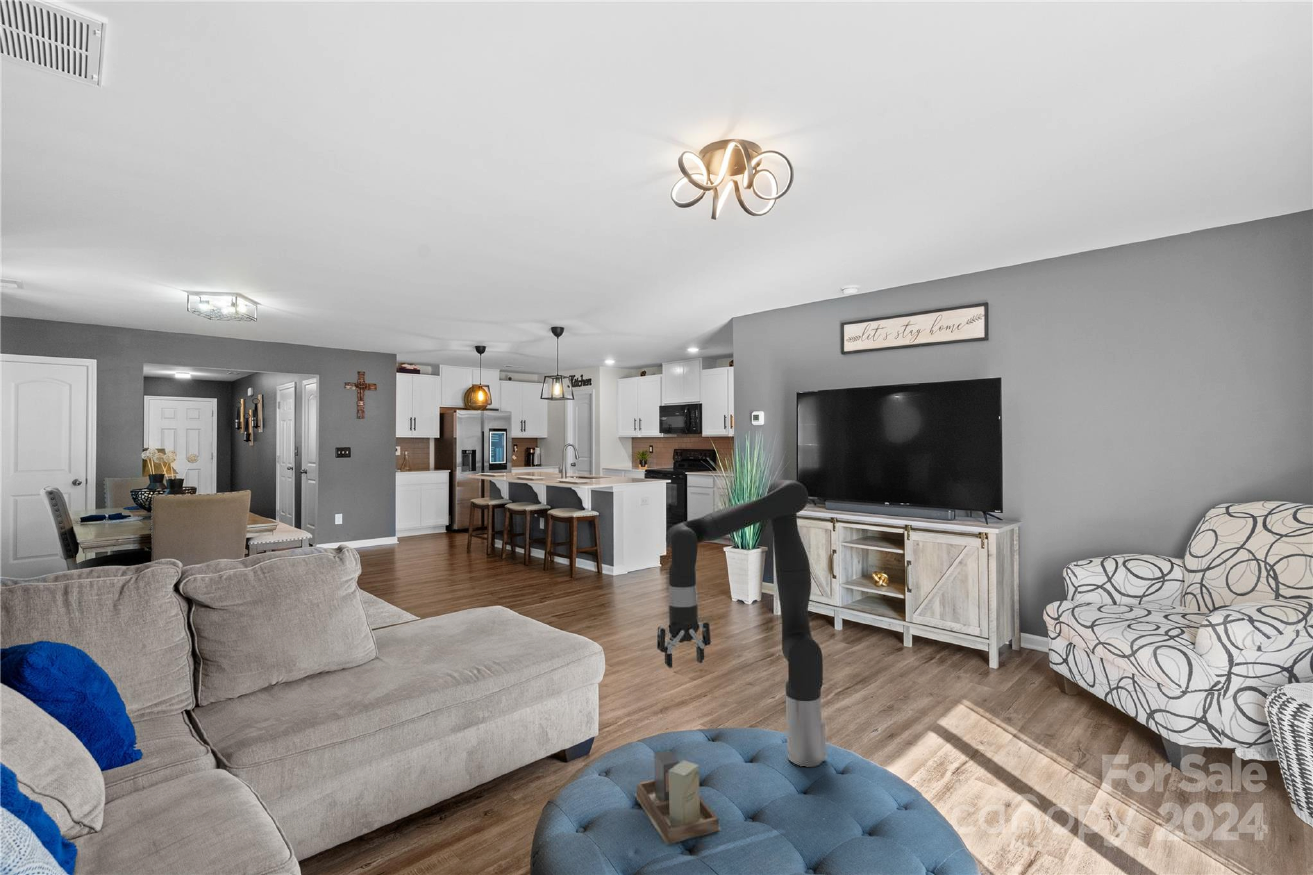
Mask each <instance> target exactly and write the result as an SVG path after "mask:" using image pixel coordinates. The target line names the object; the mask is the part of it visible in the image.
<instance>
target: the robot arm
mask: <svg viewBox="0 0 1313 875" xmlns="http://www.w3.org/2000/svg"><path fill="white" fill-rule="evenodd" d="M808 503H809V493H808V490H807V488H806V487H805V485H803V483H801V482H799V481H796V480H792V479H776V480H774V481H773V482H772V483H770V484H769V487H768V489H767V491H766V494H765V495H763V496H761V497H758V498H755V499H751V500H749V501H746V502H742V503H741V502H740V503H738V504H734V505H729V506H727V507H722V508H720V509H718V510H715V511H713V512H709V513H708V514H706V515H703V516H701V517H698V518H694V519H690V520H687V521H682V522H679V523H677V524H675V525H673V526H672V527H670V528H669V529H668V530H667V532H666V535H665V542H666V543H667V546H668V547H669V548H670V549H671V563H670V564H669V567H668V568H669V569H668V580H669V582H668V585H669V586H668V621H669V624H668V627H667V626H666V627H665V626H663V627H662V626H658V627H657V637H656V638H657V643H656V644H657V645H656V649H657V650H659V651H660V652H661V653H664V664H665V665H666V666H667V668H669V669H672V668H673V653H672V652H673V650H674V648H675V647H676V646H677V645H678V644H679V643H680V644H681V643H684V642H687V643H689V642H692V641H693V642H694V643H695V645H696V648H695V649H696V652H695V653H696V661H697V663H699V664H702V663H703V661H704V660H705V647H708V646H710V645H711V644H712V642H711V630H710V629H711V628H710V623H709V622H707V621H706V620H701V622H699V621H698V620H699V619H698V618H699V615H698V614H699V612H698V610H699V609H698V607H699V606H698V600H699V598H698V591H697V575H696V574H697V573H696V571H697V570H696V563H697V557H698V547H699V545H698V544H700V543H701V544H702V543H703V542H712V541H717V540H719V539H721V538H724V537H726V536H729V535H732V534H734V533H736V532H738V531H741V530H743V529H746V528H750V527H751V526H754V525H756V524H759V523H762V522H766V521H769V520H770V523H771V528H772V540H773V552H774V553H773V554H774V565H775V566H774V567H775V577H776V587H777V592H778V600H779V605H780V613H781V651H782V654H783V657H784V658H785V660H786V661H787V668H788V672H787V674H788V675H787V676H788V680H787V682H786V683H785V712H786V716H785V717H786V739H787V740H786V743H787V746H786V749H787V752H786V753H787V759H788V758H789V760H790V761H791V762H793V763H795V764H797V765H796V766H798V765H802V766H806V767H805V768H813V767H817V766H818V767H819V766H820V765H821V764H822V763H823V762H824V761H826V760H827V758H826V757H827V755H826V753H827V752H826V751H827V750H826V726H825V724H824V723H823V721H822V696H821V693H822V692H821V690H822V688H823V683H824V682H823V680H824V679H823V677H824V676H823V675H824V670H823V669H824V666H823V665H824V660H823V653H822V649H821V647H820V646H821V645H820V644H818V642H817V641H816V640H815V639H814V638H813V637H812V634H811V628H810V622H809V605H810V604H809V603H810V598H811V591H812V576H811V569H810V568H811V565H810V561H809V560H810V559H809V556H808V552H807V550H806V548H805V545H804V542H803V541H802V537H801V534H800V531H799V527H798V518H797V517H798V516H797V514H798V513H801V512H802V511H803V510H804V509H805V508H806V507H807V505H808ZM699 630H700V631H701V635H702V636H701V637H702V640H701V639H700V637H699V636H698V634H697V633H698V631H699ZM668 633H669V634H670V636H669V637H668V639H667V641H666V637H667V635H668ZM789 760H788V761H789ZM790 761H789V762H790ZM791 762H790V763H791ZM793 763H792V764H793ZM795 764H794V765H795ZM802 766H801V767H802Z"/></svg>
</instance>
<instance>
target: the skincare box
mask: <svg viewBox="0 0 1313 875" xmlns="http://www.w3.org/2000/svg"><path fill="white" fill-rule="evenodd" d="M699 770H700V767H699V764H697V763H695V762H692V761H688V760H687V759H686V760H685V759H682V760H681V761H679V763H678V764H677V765H675V766H674V767H673V768H671V769H670V770H669V771H668V772H669V810H670V826H672V827H679V826H683V825H687V824H690V823H694V822H698V821H699V820H700V797H701V795H700V774H699V773H700V772H699Z"/></svg>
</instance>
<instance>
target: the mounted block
mask: <svg viewBox="0 0 1313 875" xmlns="http://www.w3.org/2000/svg"><path fill="white" fill-rule="evenodd" d="M653 755H654V756H653V757H654V760H653V761H654V779H655V796H656V797H657V799H658V800H659V801H660V802H664V801H668V800H669V772H668V771H669V770H670V769H671V768H673V767H674V766H675V765H677V764H678V763H680V761H679V760H678V758H677V757H676V755H674V754H673V752H672V751H671V750H664V751H659V752H655V753H653Z"/></svg>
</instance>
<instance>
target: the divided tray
mask: <svg viewBox="0 0 1313 875" xmlns="http://www.w3.org/2000/svg"><path fill="white" fill-rule="evenodd" d="M634 796H635V798H636V799H637V802H638V803H639V804H640V806H641V807H642V809H643V810H644V812H645V813H646V815H647V817H648V819H649V820H650V821H651V823H652V824H653V826H654V827H655V829H656V830H657V832H658V833H659V835H660V836H661V838H662V840H663V841H664V843H665V844H666V845H669V844H674V843H678V842H681V841H684V840H685V841H686V840H688V839H691V838H696V837H699V836H705V835H708V834H711V833H714V832H718V831H721V830H722V829H723V828H721V827H720V826H719V818H718V816H717V815H716V813H714V812H713V810H712V809H711V808H710V807H709V805H708V804H707V803H706V802H705V800H704V799H703V798H702V797H701V796H700V820H699V821H698V822H694V823H690V824H687V825H683V826H679V827H672V826H670V810H669V800H668V801H664V802H660V801H659V800H658V799H657V797H656V796H655V778H654V779H649V780H646V781H642V782H637V783H636V793H634Z"/></svg>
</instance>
